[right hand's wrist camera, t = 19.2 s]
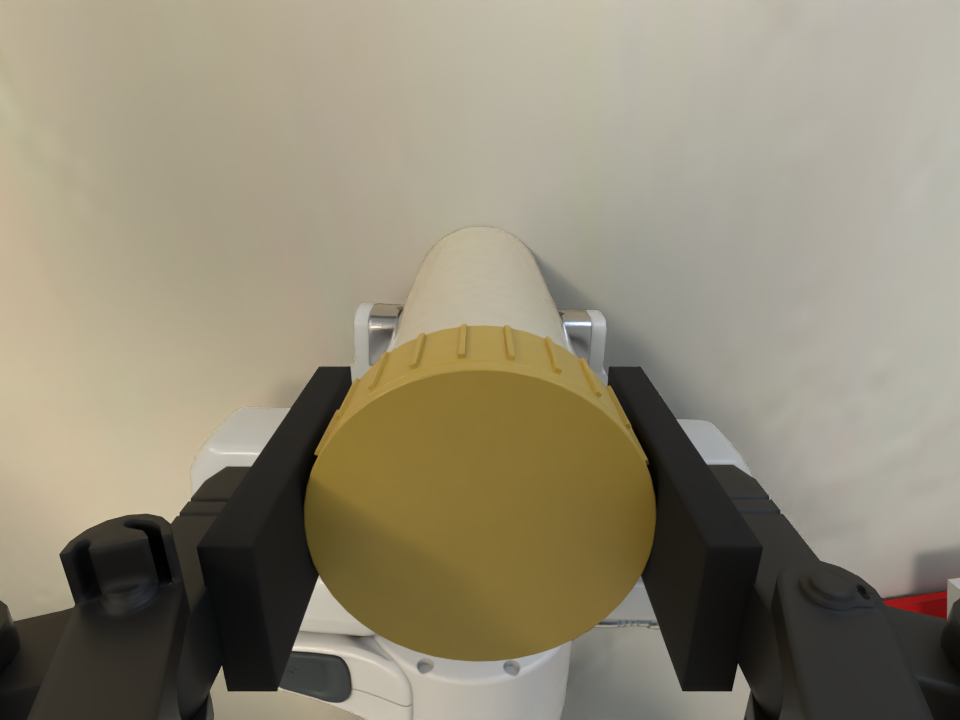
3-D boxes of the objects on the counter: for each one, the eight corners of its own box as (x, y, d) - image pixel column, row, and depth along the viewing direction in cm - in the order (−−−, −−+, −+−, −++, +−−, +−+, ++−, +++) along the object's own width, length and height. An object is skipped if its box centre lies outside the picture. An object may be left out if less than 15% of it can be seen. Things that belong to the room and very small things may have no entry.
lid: (338, 578, 14) (312, 660, 11) (320, 316, 11) (283, 358, 9) (611, 586, 14) (635, 668, 12) (649, 326, 11) (688, 371, 9)
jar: (474, 198, 25) (464, 306, 9) (568, 283, 26) (692, 499, 11) (392, 294, 26) (271, 521, 11) (485, 370, 28) (491, 666, 12)
